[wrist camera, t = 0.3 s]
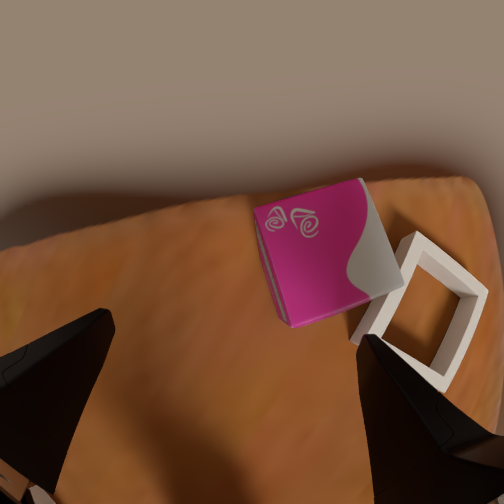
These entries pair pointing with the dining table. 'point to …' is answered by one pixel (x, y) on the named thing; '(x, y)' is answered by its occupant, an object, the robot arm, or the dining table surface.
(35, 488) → the milk
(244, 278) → the dining table surface
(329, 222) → the supplement box
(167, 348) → the dining table surface
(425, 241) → the collar
